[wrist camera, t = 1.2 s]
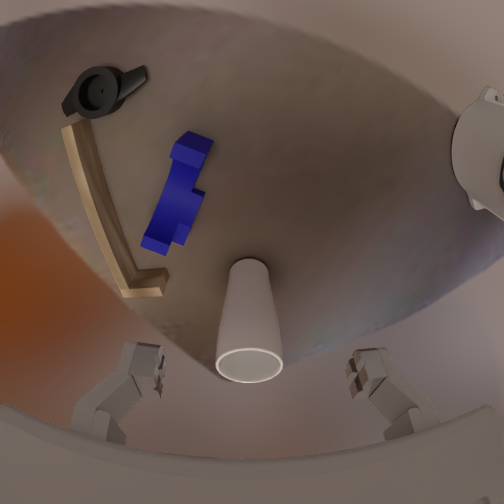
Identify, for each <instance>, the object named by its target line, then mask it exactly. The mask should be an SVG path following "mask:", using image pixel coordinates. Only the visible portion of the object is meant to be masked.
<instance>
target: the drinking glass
mask: <svg viewBox="0 0 504 504" xmlns="http://www.w3.org/2000/svg"><path fill="white" fill-rule="evenodd" d="M216 368H217V370H218V372H219V373H220V374H221V375H223V376H224V377H226V378H228V379H230V380H233V381H237V382H243V383H256V382H262V381H266V380H269V379H271V378H273V377H275V376H276V375H277V374H278V373H280V371H281V370H282V368H283V349H282V339H281V332H280V326H279V322H278V317H277V313H276V308H275V304H274V299H273V295H272V290H271V285H270V279H269V272H268V269H267V267H266V266H265V265H264V264H263V263H262V262H260V261H258V260H256V259H242V260H240V261H238V262H236V263H235V264H234V265H233V266H232V267H231V269H230V271H229V278H228V285H227V290H226V295H225V300H224V305H223V309H222V314H221V319H220V324H219V329H218V335H217V345H216Z"/></svg>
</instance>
